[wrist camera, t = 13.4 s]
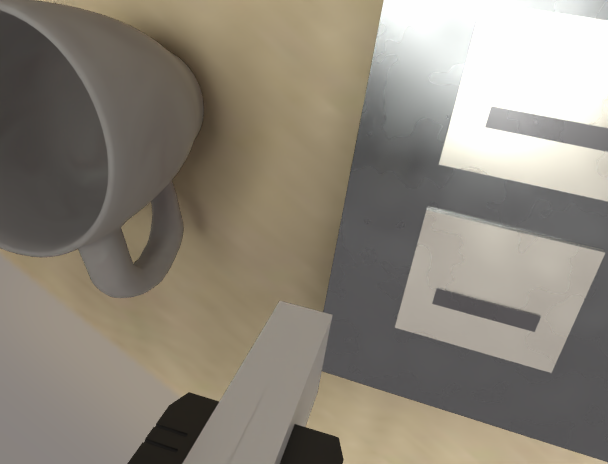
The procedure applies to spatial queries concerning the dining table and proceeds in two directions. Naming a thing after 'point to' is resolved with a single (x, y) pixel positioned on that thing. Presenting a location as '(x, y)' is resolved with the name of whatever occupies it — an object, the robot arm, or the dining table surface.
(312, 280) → the dining table surface
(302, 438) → the robot arm
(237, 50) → the dining table surface
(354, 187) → the chassis
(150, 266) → the mug
